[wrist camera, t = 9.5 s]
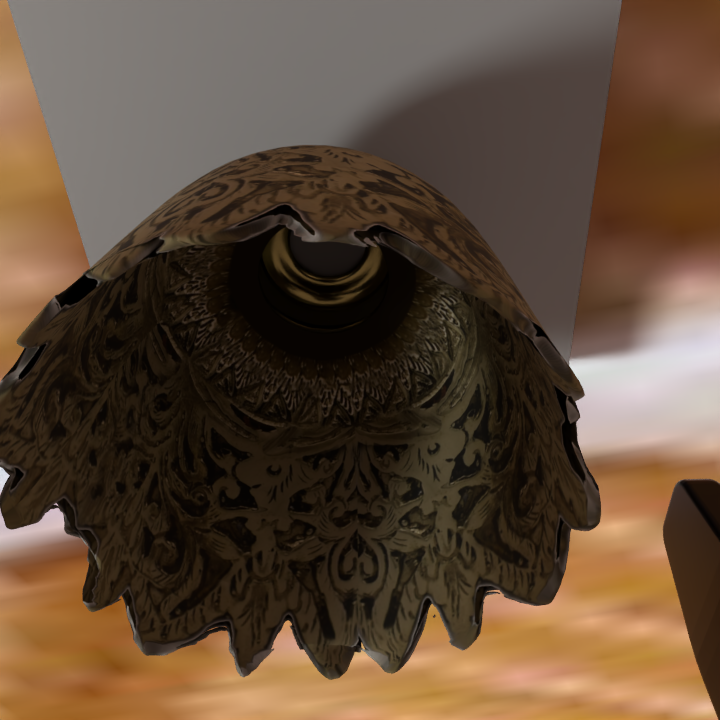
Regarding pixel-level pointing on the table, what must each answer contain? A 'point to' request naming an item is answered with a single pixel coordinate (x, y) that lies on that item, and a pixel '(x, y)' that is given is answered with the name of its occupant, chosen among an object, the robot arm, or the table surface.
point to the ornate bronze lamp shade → (300, 419)
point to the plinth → (338, 111)
